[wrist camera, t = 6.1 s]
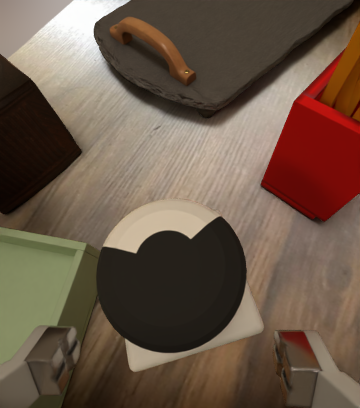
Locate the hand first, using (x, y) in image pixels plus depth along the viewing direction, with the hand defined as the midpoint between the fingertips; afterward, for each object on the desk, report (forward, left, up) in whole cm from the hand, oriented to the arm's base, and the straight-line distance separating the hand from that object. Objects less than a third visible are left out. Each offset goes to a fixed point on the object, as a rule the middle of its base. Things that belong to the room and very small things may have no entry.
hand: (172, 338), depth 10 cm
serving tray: (+39, +1, -10) cm, 41 cm away
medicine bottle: (+3, 0, -10) cm, 10 cm away
